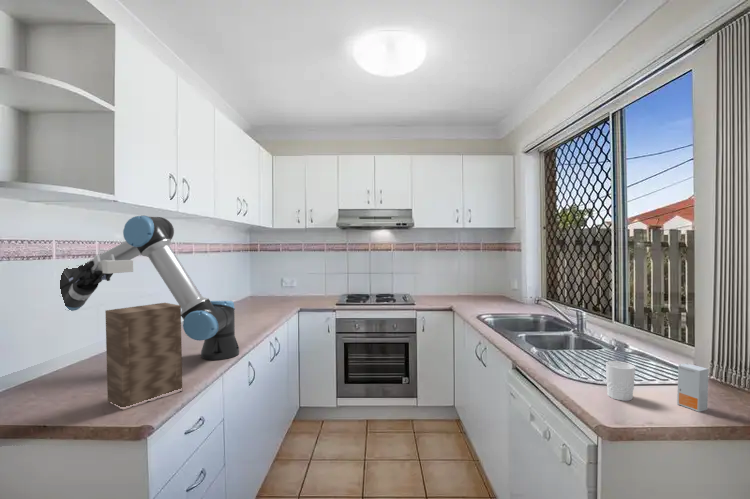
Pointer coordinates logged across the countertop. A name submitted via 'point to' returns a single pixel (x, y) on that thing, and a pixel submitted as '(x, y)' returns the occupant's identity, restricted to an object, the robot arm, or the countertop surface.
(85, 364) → the countertop surface
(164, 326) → the open wooden box
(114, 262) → the knob
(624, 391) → the white cup
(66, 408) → the countertop surface
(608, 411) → the countertop surface
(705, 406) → the skincare box
